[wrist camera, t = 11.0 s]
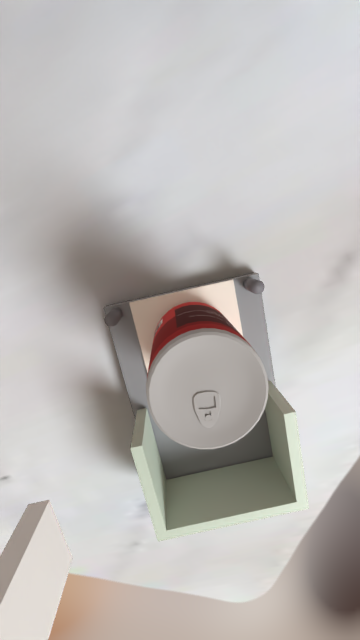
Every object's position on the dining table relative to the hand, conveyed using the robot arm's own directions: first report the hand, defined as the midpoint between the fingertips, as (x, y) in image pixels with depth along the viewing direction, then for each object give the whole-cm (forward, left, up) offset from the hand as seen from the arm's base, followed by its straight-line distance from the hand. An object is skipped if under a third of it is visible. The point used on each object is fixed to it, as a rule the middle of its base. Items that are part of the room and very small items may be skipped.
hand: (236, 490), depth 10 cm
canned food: (0, 0, -19) cm, 19 cm away
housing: (+11, 0, -19) cm, 22 cm away
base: (+6, 0, -20) cm, 21 cm away
